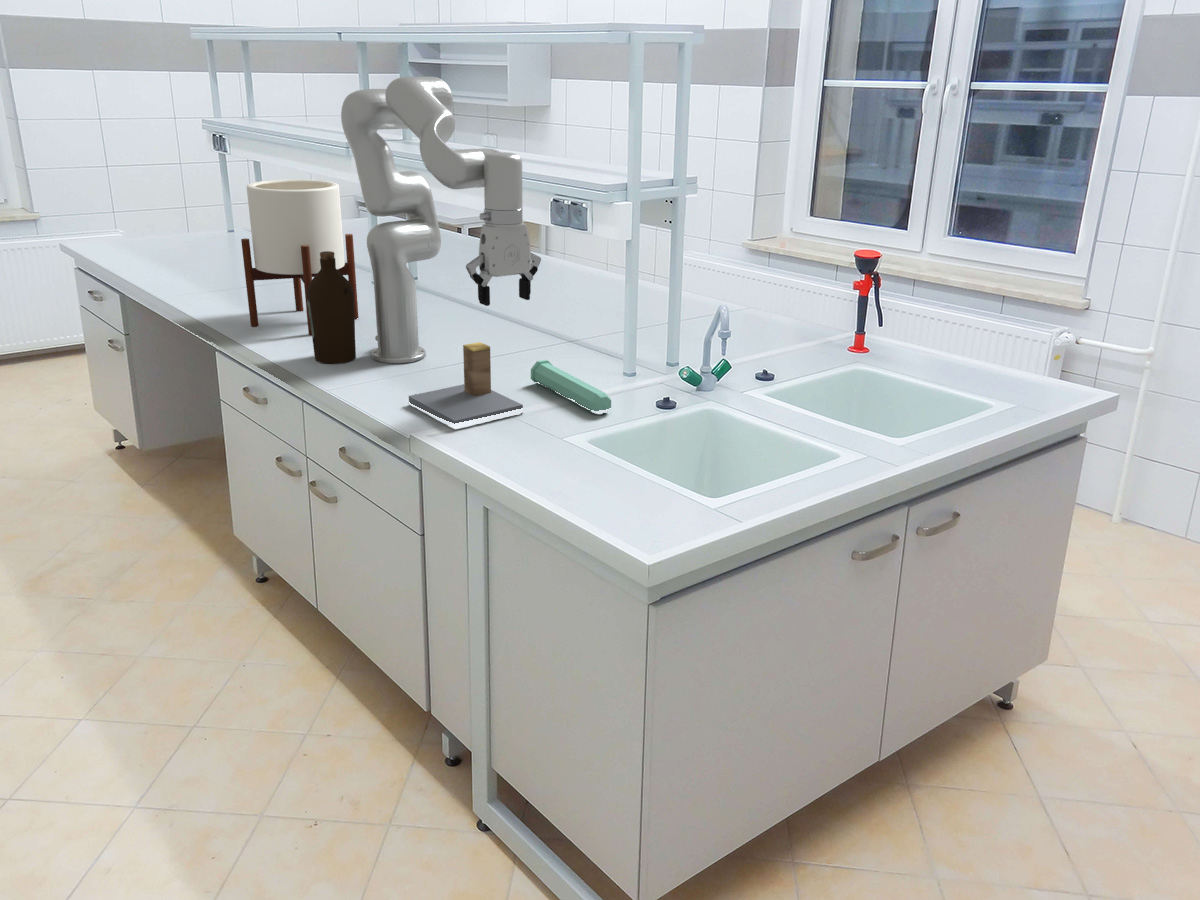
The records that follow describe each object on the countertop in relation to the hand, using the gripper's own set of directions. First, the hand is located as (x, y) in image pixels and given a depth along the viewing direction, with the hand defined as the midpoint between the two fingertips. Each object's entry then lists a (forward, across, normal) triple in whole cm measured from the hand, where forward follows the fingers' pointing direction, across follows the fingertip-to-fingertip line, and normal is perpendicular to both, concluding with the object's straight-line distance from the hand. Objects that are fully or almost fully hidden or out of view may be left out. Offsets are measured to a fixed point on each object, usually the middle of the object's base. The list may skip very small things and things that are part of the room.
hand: (504, 301), depth 201 cm
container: (+21, +10, -10) cm, 25 cm away
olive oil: (+20, -20, +44) cm, 53 cm away
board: (+20, -12, -3) cm, 24 cm away
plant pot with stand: (+20, -13, +80) cm, 83 cm away
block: (+18, -7, 0) cm, 20 cm away
